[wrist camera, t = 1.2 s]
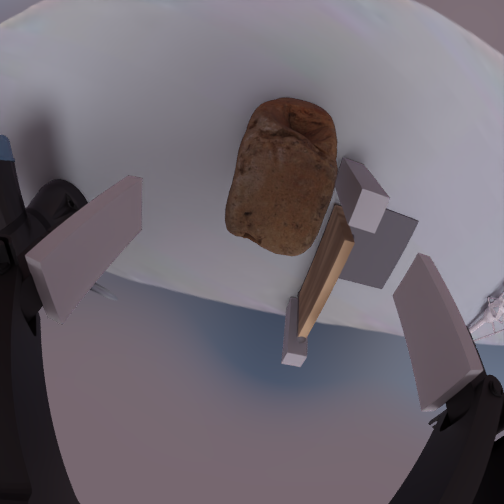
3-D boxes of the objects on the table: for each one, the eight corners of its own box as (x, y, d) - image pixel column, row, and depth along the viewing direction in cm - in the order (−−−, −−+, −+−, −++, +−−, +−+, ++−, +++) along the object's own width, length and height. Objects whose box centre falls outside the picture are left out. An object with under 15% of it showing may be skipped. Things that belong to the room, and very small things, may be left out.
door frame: (286, 308, 49) (281, 363, 39) (343, 157, 34) (362, 188, 24) (302, 312, 49) (300, 367, 39) (363, 164, 34) (390, 198, 24)
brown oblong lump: (303, 183, 37) (307, 274, 20) (249, 166, 36) (207, 244, 20) (329, 108, 30) (369, 131, 14) (272, 90, 30) (243, 89, 14)
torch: (438, 313, 56) (522, 275, 35) (446, 347, 53) (532, 315, 32) (427, 319, 53) (518, 278, 33) (435, 355, 50) (529, 323, 29)
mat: (323, 273, 44) (323, 274, 44) (354, 198, 36) (355, 198, 36) (381, 287, 44) (381, 289, 44) (417, 220, 36) (418, 221, 36)
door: (296, 296, 47) (294, 341, 39) (333, 203, 37) (344, 240, 29) (310, 299, 47) (311, 345, 39) (350, 208, 37) (364, 246, 29)
